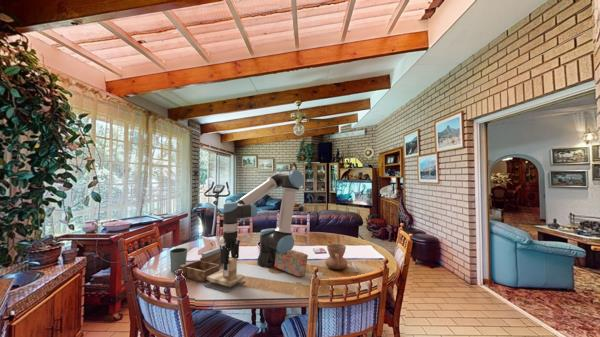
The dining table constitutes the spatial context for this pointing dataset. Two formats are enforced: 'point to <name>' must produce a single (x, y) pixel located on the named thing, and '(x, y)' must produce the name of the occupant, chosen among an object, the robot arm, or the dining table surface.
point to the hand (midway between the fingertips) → (229, 274)
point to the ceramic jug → (336, 256)
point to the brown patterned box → (292, 262)
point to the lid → (227, 280)
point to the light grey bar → (211, 252)
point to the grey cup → (178, 258)
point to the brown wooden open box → (202, 268)
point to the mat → (223, 286)
